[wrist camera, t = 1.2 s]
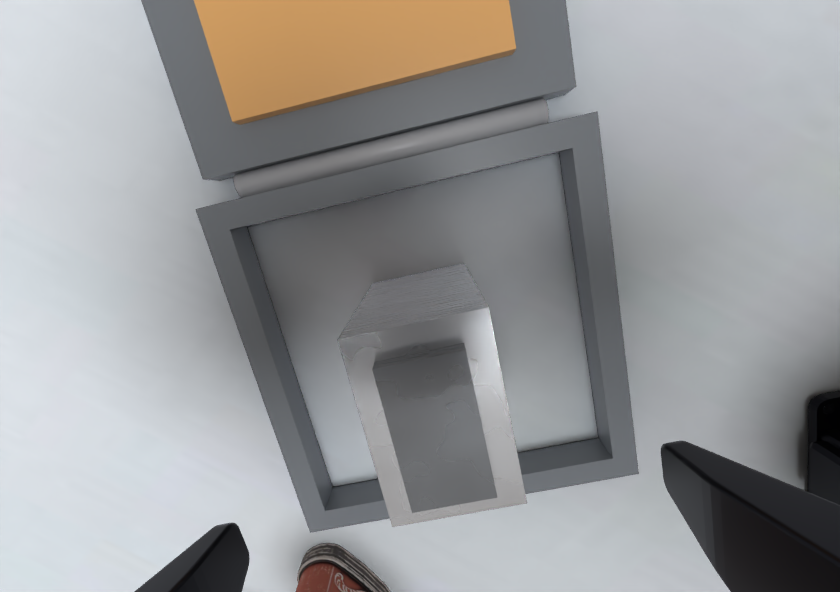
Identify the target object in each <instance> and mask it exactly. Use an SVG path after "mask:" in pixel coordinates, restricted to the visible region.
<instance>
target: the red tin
mask: <svg viewBox="0 0 840 592" xmlns="http://www.w3.org/2000/svg"><path fill="white" fill-rule="evenodd" d="M297 581H298V586H297V589H296V592H390V590H389V589H388V588H387V586H386V585H385V584H384V583H383V582H382V581H381V580H380V579H379V578H378V577H377V576H376V575H375V574H374V573H373V572H372V571H371V570H370V569H369V568H368V567H367V566H366V565H364V564H363V563H362V562H361V561H359V560H358V559H357V558H356V557H354V556H353V555H352V554H350V553H349V552H348V551H347V550H345V549H344V548H342V547H340V546H338V545H336V544H330V543H327V544H319V545H317V546H315V547H312V548H311V549H310V550H309V551H307V552H306V554H305V556H304V557H303V560H302V563H301V566H300V569H299V572H298V577H297Z"/></svg>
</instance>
